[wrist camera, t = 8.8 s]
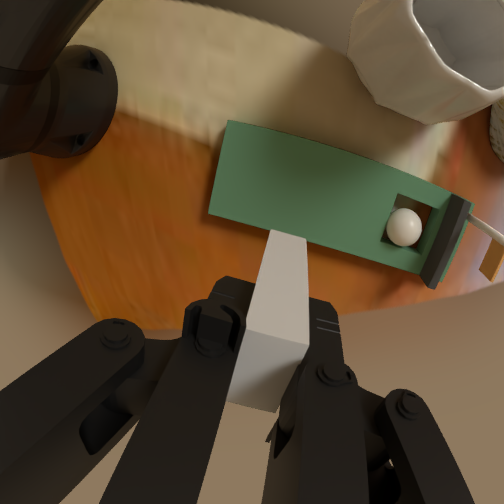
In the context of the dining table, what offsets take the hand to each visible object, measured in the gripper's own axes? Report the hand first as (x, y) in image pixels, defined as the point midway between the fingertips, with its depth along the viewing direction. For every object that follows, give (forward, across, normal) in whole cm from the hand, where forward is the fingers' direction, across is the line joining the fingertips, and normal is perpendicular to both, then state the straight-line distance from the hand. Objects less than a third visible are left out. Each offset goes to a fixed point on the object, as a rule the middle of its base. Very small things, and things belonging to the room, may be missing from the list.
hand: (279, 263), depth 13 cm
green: (+20, +6, 0) cm, 21 cm away
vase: (+21, +8, +17) cm, 28 cm away
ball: (+20, +11, -1) cm, 23 cm away
